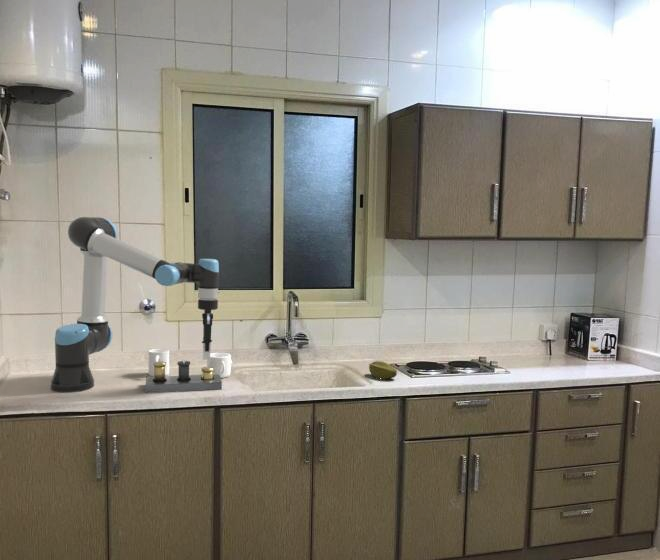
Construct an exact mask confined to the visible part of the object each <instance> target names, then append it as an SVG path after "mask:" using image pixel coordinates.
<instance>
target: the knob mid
mask: <svg viewBox="0 0 660 560" xmlns="http://www.w3.org/2000/svg"><path fill="white" fill-rule="evenodd" d="M177 365H178V376H179V380H180V381H186V380H189V376H190V365H191V361H189V360H184V359H183V360H180V361H179V360H178V361H177Z"/></svg>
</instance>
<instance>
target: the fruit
mask: <svg viewBox="0 0 660 560" xmlns="http://www.w3.org/2000/svg"><path fill="white" fill-rule="evenodd" d="M368 365H369V366H368V369H369V372H370V374H371V376H373V377H374V378H375V377H376V379H378V378H381V379H380V380H387V379H394V378H395V377H397V369H395V367H393V366H392V365H391V364H388V363H387V362H384V361H381V360H379V361H377V360H376V361H373V362H371V363H369V364H368Z"/></svg>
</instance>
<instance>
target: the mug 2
mask: <svg viewBox="0 0 660 560" xmlns="http://www.w3.org/2000/svg"><path fill="white" fill-rule="evenodd" d="M231 357H232V355H231V354H230V353H228V352H227V353H226V352H213V353H212V352H210V359H206V367H213V368H214V371H213V375H216V374H219V375H220V378H221V379H224V378H228V377H230V375H231V370H232V364H233V360H232V358H231Z"/></svg>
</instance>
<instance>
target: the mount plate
mask: <svg viewBox="0 0 660 560" xmlns="http://www.w3.org/2000/svg"><path fill="white" fill-rule="evenodd" d="M222 385H223V381H222V378H220V375H219V374H216V375H213V380H202V374H197V375H192V374H191V375H190V374H189V380H186V381H180V380H179V375H172V376H171V375H167V376H165V381H162V382H156V381H154V377H153V376H147V377H146V380H145V385H144V386H145V387H144V389H145V394H149V393H148V392H155V393H174V392H175V393H176V391H177V392H193V391H195V392H196V391H197V392H198V391H216V390H219V391H221V390H223V388H222Z"/></svg>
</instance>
